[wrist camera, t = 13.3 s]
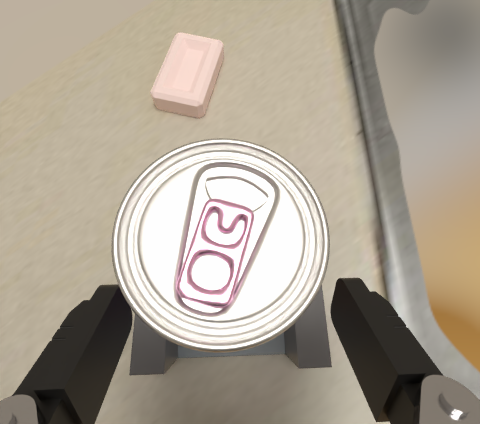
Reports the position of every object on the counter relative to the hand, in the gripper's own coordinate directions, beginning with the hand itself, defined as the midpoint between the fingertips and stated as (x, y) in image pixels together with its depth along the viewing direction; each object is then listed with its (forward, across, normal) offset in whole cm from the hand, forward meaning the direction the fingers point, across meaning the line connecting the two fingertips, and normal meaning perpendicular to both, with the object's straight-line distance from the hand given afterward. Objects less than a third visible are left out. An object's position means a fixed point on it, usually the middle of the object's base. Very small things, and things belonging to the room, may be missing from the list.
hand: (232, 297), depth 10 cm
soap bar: (+25, +4, -7) cm, 26 cm away
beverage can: (+9, 0, +7) cm, 11 cm away
